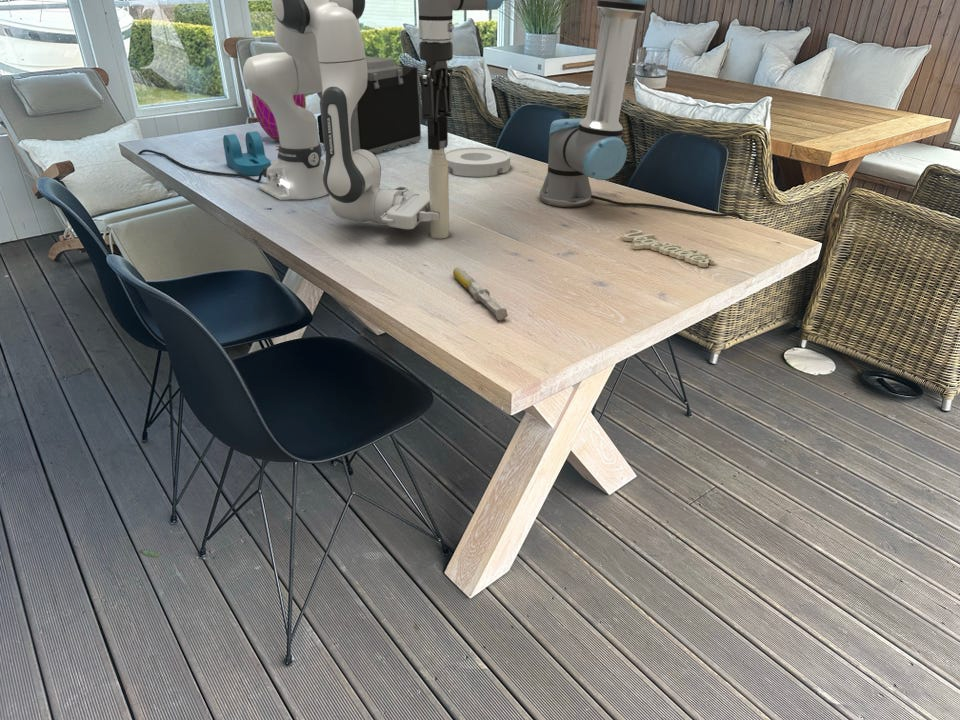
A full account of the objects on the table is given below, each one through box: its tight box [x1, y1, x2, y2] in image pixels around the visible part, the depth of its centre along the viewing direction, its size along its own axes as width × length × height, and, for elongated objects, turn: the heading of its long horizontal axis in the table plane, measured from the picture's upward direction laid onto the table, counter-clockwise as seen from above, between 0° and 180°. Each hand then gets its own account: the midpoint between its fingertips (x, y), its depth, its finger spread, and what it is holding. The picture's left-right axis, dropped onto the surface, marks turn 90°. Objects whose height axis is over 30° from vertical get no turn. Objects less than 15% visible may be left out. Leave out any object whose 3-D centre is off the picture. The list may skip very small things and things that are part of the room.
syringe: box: [452, 266, 509, 321], centre depth 145 cm, size 25×4×3 cm, turn 21°
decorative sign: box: [622, 228, 715, 268], centre depth 169 cm, size 26×1×10 cm
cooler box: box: [316, 55, 422, 155], centre depth 250 cm, size 37×22×30 cm, turn 144°
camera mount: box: [222, 131, 272, 176], centre depth 226 cm, size 18×10×10 cm, turn 35°
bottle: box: [428, 148, 450, 239], centre depth 171 cm, size 5×5×23 cm
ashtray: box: [444, 146, 511, 178], centre depth 232 cm, size 23×23×4 cm
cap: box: [440, 137, 448, 149], centre depth 165 cm, size 4×4×2 cm
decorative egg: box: [251, 92, 307, 141], centre depth 257 cm, size 19×19×30 cm
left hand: (442, 212), depth 174 cm, fingers closed on bottle, 5 cm apart
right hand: (438, 146), depth 166 cm, fingers closed on cap, 4 cm apart
